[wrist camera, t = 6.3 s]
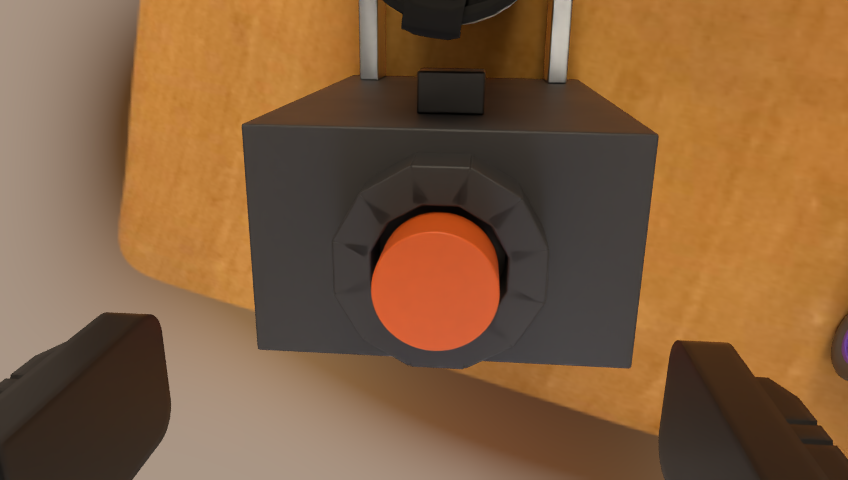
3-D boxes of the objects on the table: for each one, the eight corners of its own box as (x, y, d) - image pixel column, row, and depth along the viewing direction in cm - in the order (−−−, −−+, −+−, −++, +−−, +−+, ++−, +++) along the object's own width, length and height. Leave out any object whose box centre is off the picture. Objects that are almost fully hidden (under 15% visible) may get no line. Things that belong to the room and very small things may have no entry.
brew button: (380, 209, 20) (369, 229, 18) (501, 213, 20) (502, 234, 18) (381, 318, 22) (371, 348, 20) (495, 324, 21) (496, 354, 19)
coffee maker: (351, 75, 40) (217, 133, 20) (578, 79, 39) (677, 146, 19) (354, 207, 42) (237, 378, 22) (567, 214, 41) (644, 401, 21)
